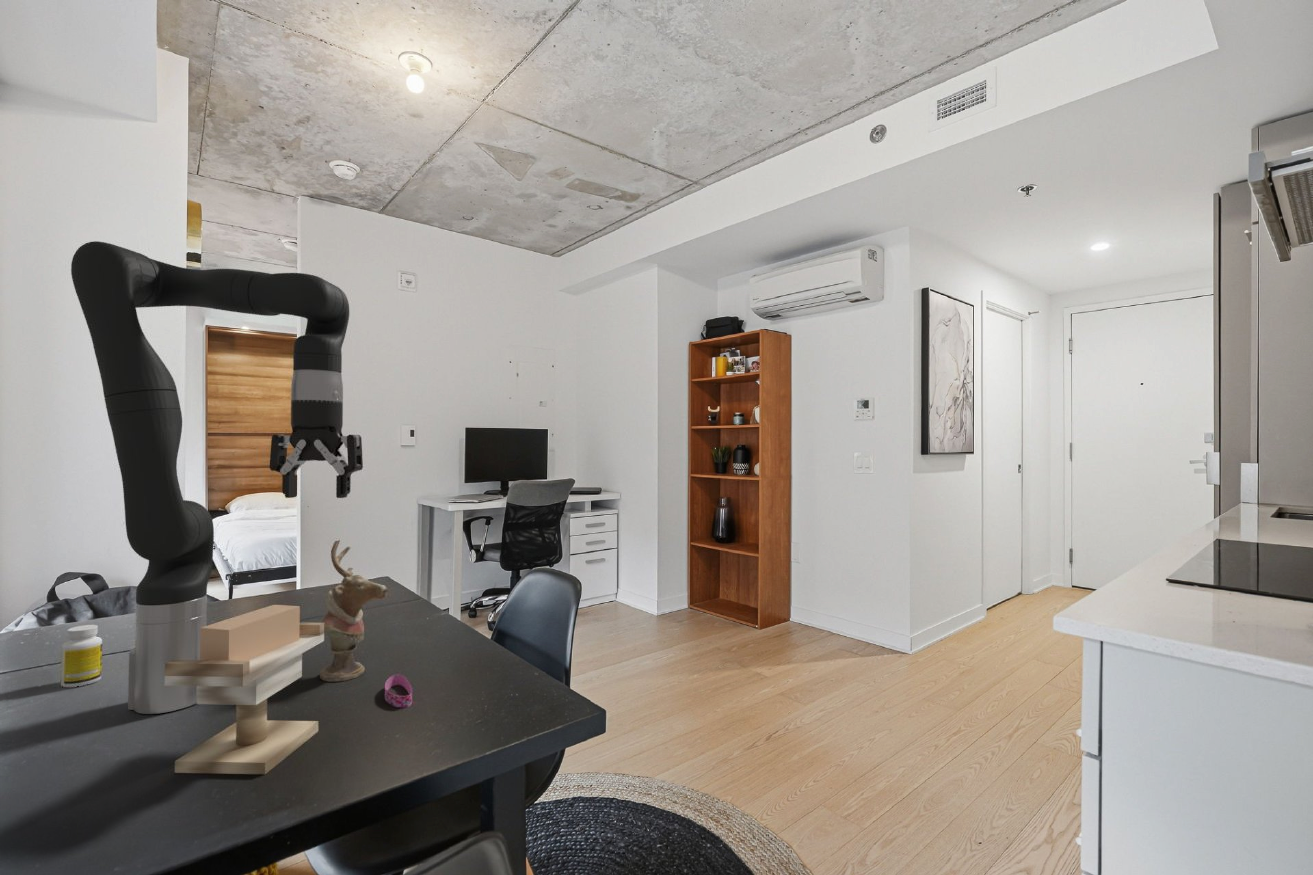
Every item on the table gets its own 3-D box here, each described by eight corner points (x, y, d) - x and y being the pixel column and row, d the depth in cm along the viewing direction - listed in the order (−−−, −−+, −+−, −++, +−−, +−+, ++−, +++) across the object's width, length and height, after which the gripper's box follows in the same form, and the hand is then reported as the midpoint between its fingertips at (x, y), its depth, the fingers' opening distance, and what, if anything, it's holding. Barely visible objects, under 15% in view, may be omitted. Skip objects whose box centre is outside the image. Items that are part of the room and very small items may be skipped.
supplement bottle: (108, 679, 111) (108, 625, 111) (69, 690, 106) (70, 633, 106) (92, 674, 114) (93, 621, 114) (54, 685, 109) (55, 629, 109)
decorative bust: (401, 668, 114) (380, 535, 114) (324, 692, 107) (302, 550, 107) (390, 656, 123) (371, 533, 124) (318, 678, 116) (299, 547, 117)
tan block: (199, 665, 81) (200, 627, 81) (273, 637, 92) (273, 604, 92) (228, 668, 80) (229, 629, 80) (299, 639, 92) (299, 606, 92)
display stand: (155, 785, 77) (157, 662, 77) (253, 720, 95) (254, 621, 95) (249, 787, 77) (250, 664, 77) (329, 722, 95) (330, 622, 95)
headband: (379, 689, 108) (380, 676, 108) (403, 685, 110) (403, 673, 110) (389, 711, 99) (390, 697, 99) (415, 707, 101) (415, 693, 101)
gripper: (371, 401, 105) (370, 496, 105) (289, 401, 105) (288, 495, 105) (347, 398, 98) (346, 500, 97) (259, 397, 98) (258, 499, 98)
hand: (316, 497), depth 101 cm, fingers open, 8 cm apart
